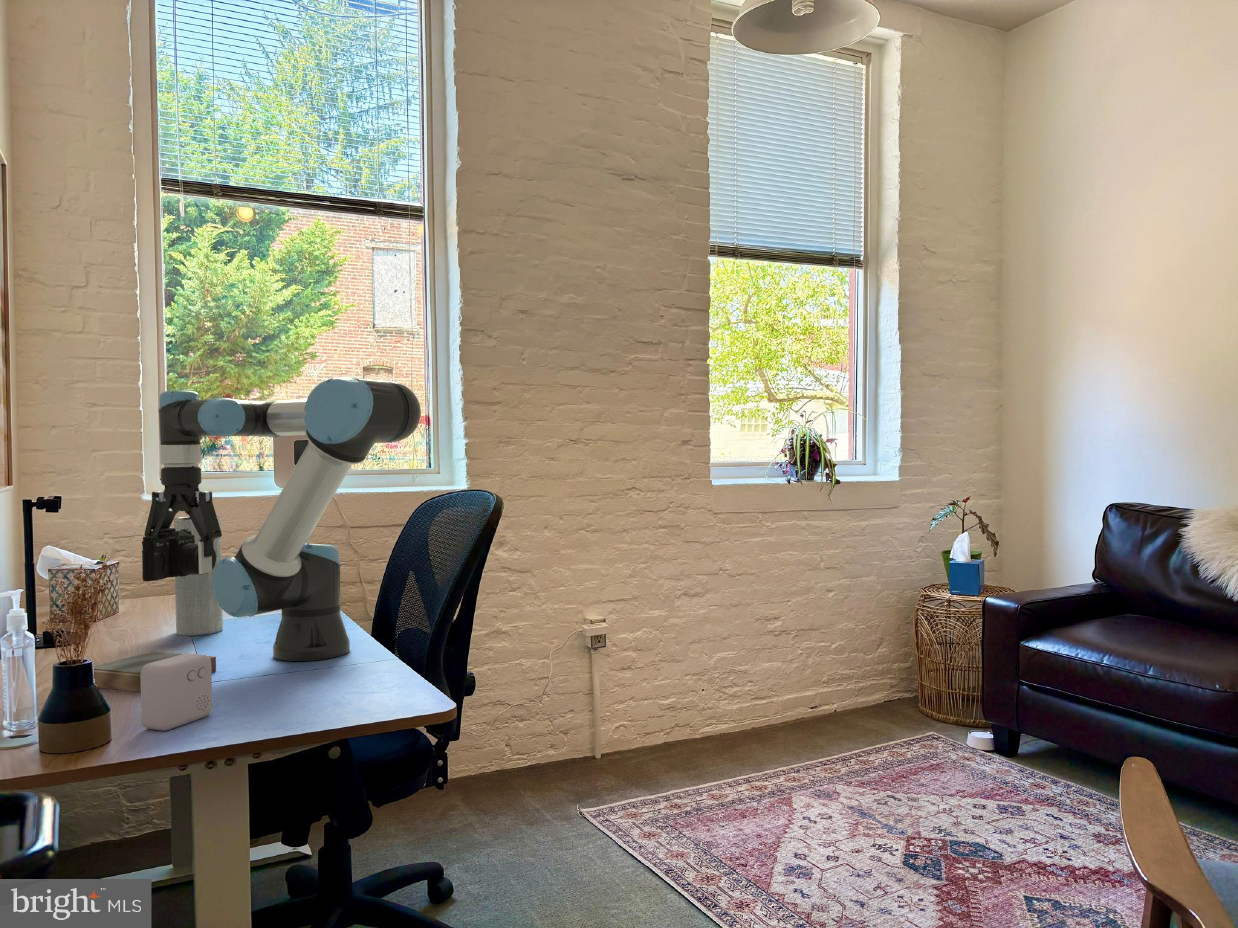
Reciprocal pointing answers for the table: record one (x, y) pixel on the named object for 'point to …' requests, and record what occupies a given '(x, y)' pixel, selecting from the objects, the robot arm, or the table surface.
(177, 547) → the camera
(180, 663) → the electronic device
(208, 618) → the vase
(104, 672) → the stand
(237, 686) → the table surface
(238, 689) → the table surface
